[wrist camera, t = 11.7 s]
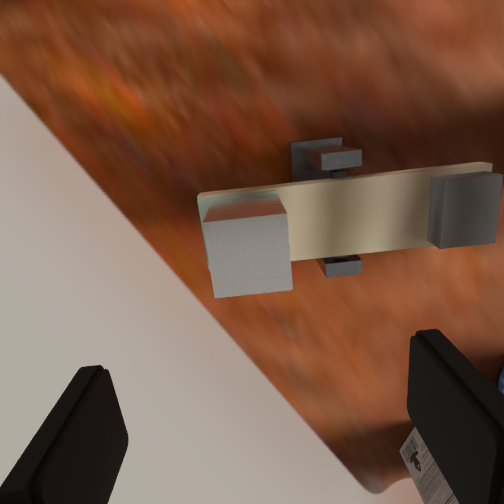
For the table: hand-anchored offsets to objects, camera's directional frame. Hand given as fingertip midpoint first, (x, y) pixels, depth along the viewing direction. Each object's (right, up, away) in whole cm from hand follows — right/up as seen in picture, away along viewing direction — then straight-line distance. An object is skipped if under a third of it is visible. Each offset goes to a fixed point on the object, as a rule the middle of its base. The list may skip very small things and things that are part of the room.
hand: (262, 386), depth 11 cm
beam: (+7, +7, +18) cm, 20 cm away
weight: (-1, +6, +16) cm, 18 cm away
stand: (+7, +10, +26) cm, 29 cm away
